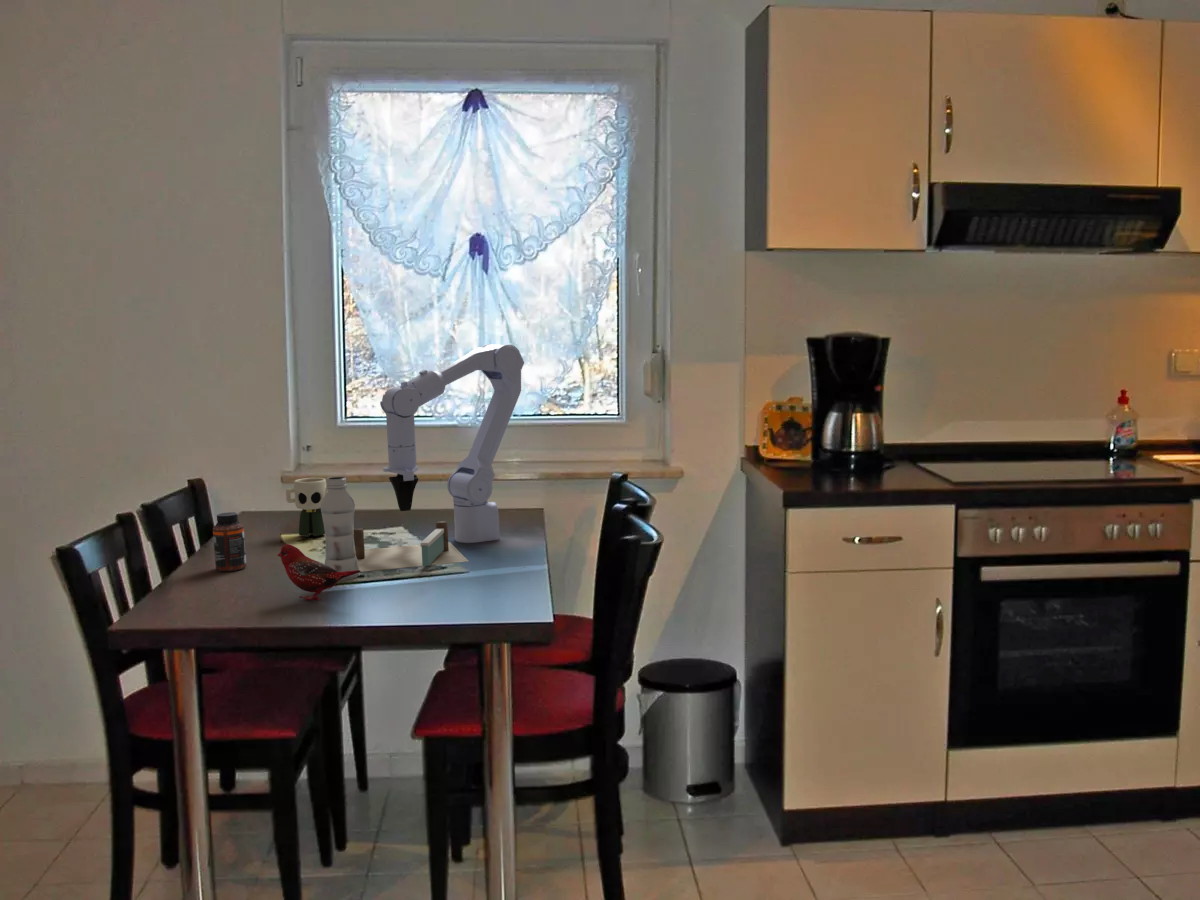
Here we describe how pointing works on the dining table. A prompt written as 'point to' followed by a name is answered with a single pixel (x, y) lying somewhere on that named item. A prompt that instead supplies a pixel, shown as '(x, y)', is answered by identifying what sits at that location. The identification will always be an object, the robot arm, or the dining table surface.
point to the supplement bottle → (229, 543)
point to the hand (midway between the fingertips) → (405, 510)
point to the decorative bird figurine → (309, 572)
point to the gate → (432, 546)
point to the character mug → (309, 504)
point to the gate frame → (402, 553)
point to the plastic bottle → (339, 527)
